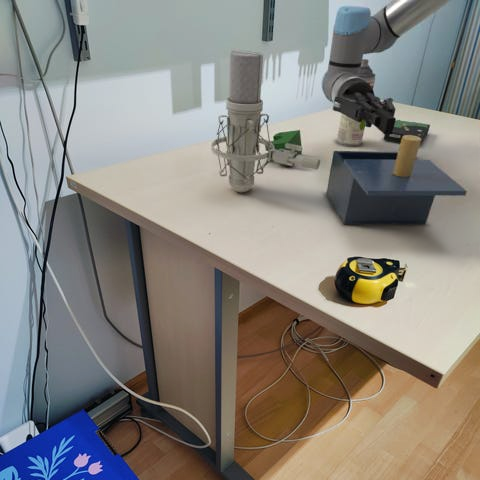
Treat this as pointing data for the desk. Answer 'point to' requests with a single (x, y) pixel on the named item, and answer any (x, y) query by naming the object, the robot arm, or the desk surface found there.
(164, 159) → the desk surface
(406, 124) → the disk drive
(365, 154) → the bin
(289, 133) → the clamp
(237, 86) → the microphone
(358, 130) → the aerosol can
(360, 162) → the lid
